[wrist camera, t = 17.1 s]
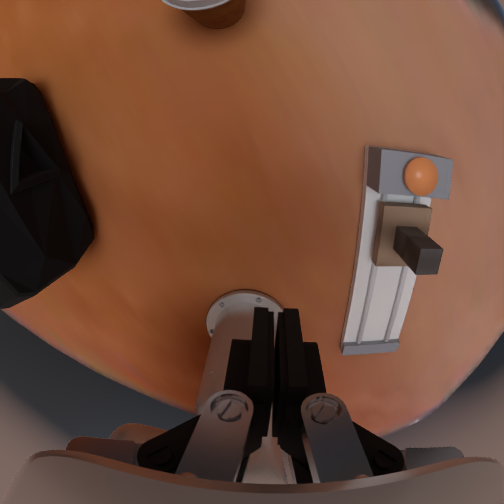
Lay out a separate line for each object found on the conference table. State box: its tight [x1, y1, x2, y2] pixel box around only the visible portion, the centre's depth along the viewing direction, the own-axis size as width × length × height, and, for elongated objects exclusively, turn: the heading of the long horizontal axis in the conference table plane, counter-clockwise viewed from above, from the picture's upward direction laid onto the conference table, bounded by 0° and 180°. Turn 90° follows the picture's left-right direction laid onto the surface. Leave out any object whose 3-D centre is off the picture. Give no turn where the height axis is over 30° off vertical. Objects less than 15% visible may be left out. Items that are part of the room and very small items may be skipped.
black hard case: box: [0, 78, 94, 309], centre depth 27 cm, size 30×12×20 cm, turn 21°
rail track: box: [340, 145, 453, 355], centre depth 37 cm, size 32×10×6 cm, turn 1°
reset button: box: [403, 157, 438, 196], centre depth 29 cm, size 4×4×2 cm
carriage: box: [371, 201, 443, 275], centre depth 31 cm, size 8×7×9 cm
